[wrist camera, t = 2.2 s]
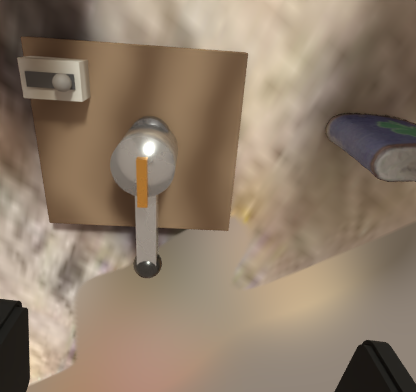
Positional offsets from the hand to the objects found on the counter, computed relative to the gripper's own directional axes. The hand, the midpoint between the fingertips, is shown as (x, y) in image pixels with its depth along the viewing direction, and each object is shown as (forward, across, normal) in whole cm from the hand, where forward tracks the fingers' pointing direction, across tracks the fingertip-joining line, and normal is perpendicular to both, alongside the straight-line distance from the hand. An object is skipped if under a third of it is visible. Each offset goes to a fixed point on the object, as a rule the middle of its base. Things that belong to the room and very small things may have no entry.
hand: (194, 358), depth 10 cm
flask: (+21, -15, -4) cm, 26 cm away
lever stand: (+21, +4, 0) cm, 22 cm away
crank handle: (+20, +3, +4) cm, 20 cm away
